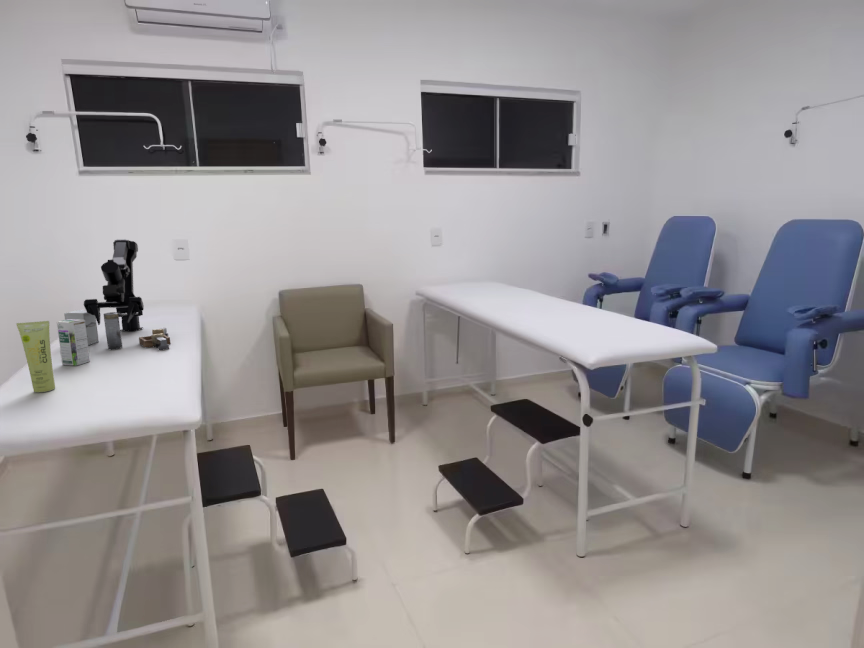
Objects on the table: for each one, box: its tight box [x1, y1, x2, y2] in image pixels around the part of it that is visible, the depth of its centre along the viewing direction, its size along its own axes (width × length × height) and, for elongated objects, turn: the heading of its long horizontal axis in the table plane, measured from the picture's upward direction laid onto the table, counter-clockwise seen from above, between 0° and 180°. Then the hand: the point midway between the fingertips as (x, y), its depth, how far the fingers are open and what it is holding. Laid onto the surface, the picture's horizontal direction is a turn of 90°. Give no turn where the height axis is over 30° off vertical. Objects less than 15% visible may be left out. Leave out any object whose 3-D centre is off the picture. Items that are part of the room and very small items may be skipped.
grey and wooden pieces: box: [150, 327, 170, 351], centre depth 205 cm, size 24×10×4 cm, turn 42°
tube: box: [15, 320, 56, 393], centre depth 148 cm, size 6×5×20 cm
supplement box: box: [64, 309, 100, 346], centre depth 203 cm, size 7×7×13 cm
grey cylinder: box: [103, 311, 123, 351], centre depth 196 cm, size 5×5×13 cm
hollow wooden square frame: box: [138, 334, 171, 348], centre depth 203 cm, size 9×9×2 cm
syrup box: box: [56, 319, 91, 367], centre depth 176 cm, size 6×6×14 cm
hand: (113, 323), depth 197 cm, fingers open, 9 cm apart
